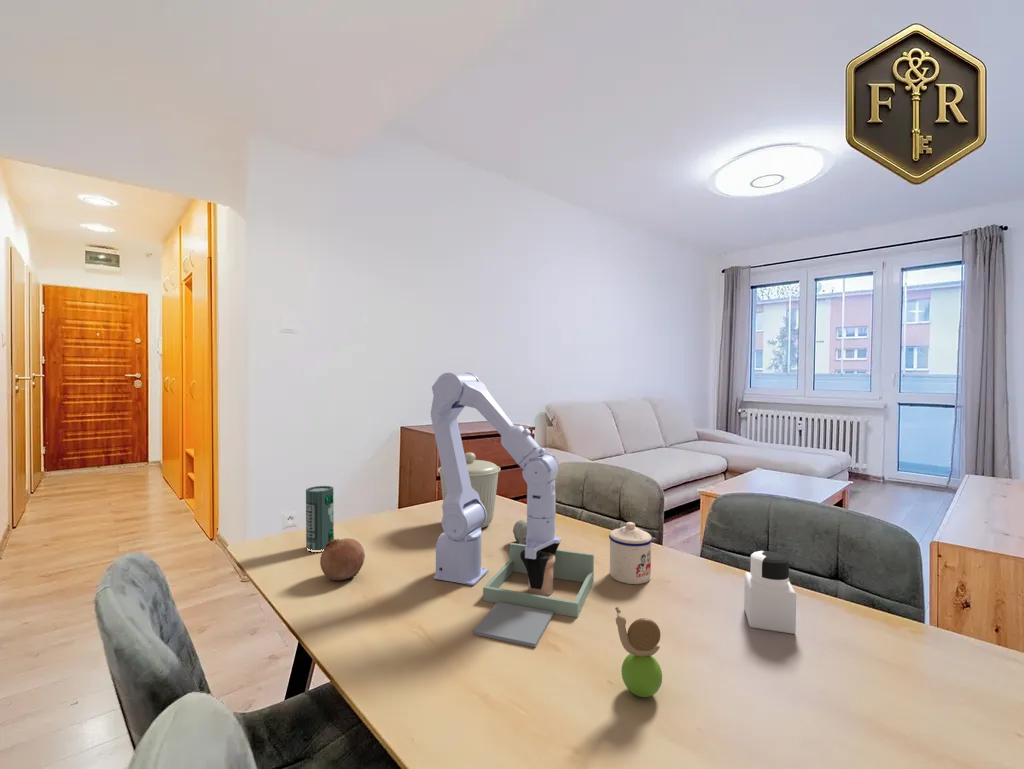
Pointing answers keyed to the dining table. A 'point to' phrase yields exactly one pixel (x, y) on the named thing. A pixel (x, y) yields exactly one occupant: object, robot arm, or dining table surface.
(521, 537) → the decorative bird
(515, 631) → the slate mat
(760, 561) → the medicine bottle
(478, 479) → the canister
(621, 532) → the teacup with lid
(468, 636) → the dining table surface
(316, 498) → the can
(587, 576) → the frame
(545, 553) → the terracotta pot
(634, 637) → the snail figurine
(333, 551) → the brown kiwi fruit
